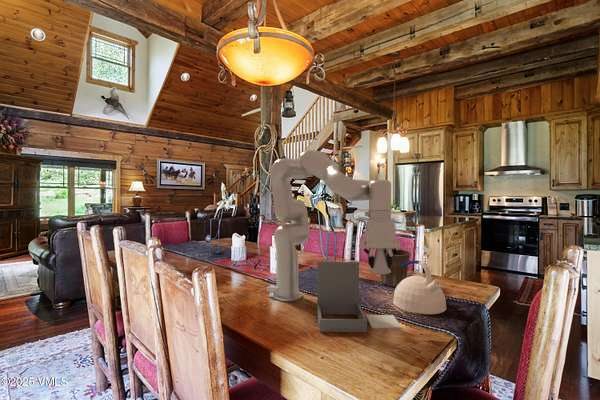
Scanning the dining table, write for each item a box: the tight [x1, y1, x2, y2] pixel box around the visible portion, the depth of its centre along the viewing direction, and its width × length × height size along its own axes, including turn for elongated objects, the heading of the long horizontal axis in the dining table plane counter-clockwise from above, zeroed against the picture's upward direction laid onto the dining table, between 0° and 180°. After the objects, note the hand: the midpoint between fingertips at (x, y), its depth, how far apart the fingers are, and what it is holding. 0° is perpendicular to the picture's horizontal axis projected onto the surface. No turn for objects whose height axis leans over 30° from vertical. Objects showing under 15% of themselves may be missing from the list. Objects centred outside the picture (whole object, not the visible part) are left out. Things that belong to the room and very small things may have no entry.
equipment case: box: [316, 261, 368, 333], centre depth 110 cm, size 16×16×20 cm
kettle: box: [392, 260, 447, 315], centre depth 126 cm, size 20×21×18 cm
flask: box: [368, 249, 391, 275], centre depth 109 cm, size 7×7×10 cm
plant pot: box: [379, 248, 412, 288], centre depth 155 cm, size 16×16×16 cm
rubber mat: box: [365, 314, 403, 330], centre depth 109 cm, size 10×10×1 cm
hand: (379, 266), depth 109 cm, fingers closed on flask, 5 cm apart
